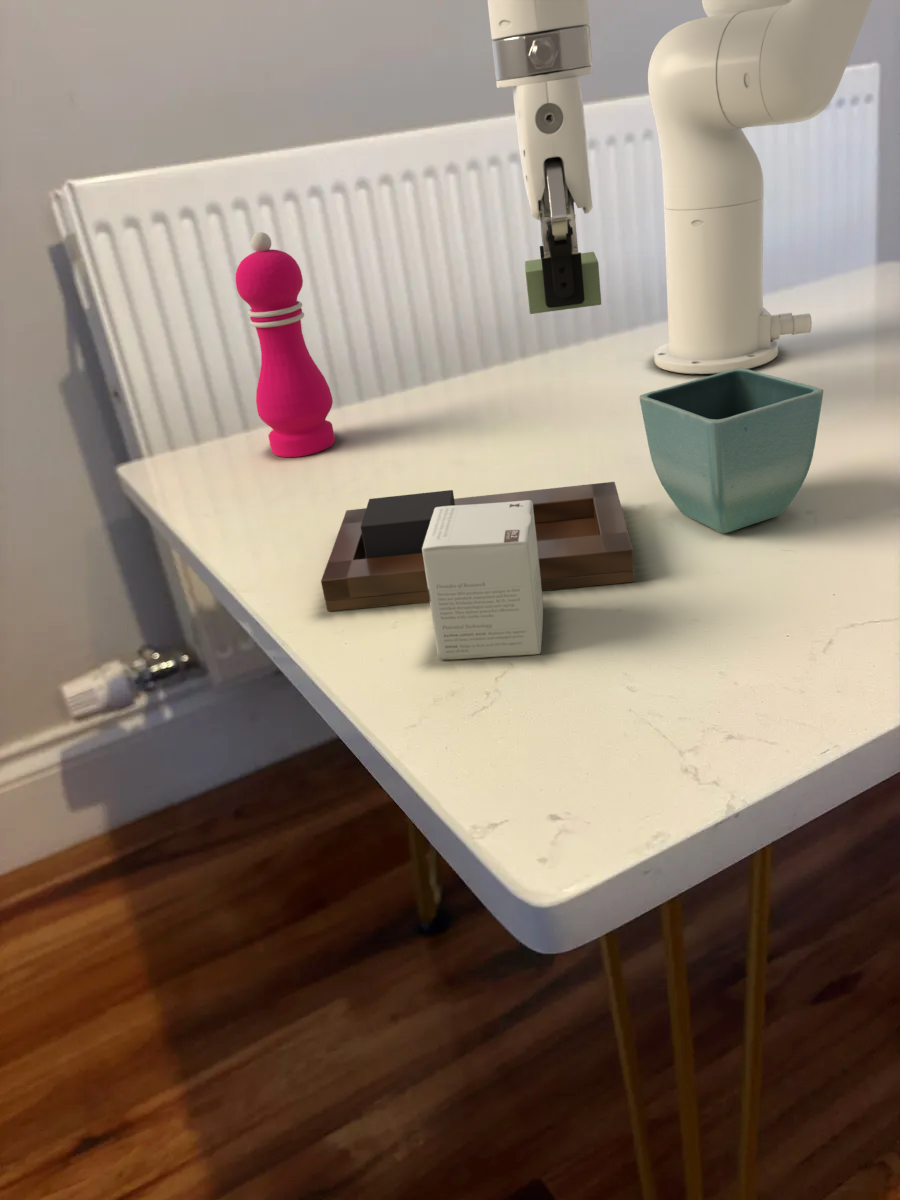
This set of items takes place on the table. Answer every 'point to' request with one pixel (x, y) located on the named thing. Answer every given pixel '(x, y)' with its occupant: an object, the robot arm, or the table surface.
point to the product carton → (484, 580)
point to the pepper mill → (284, 354)
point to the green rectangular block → (537, 284)
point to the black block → (400, 522)
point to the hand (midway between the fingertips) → (563, 295)
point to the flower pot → (732, 444)
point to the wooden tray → (564, 540)
